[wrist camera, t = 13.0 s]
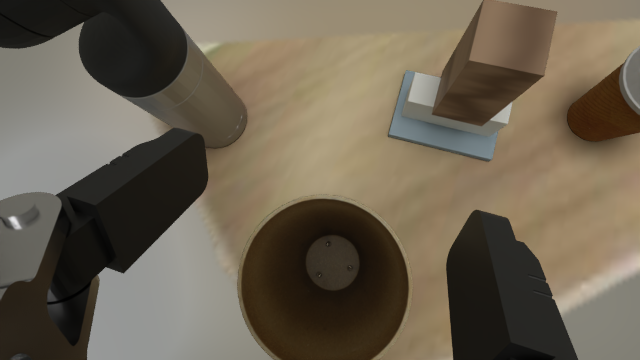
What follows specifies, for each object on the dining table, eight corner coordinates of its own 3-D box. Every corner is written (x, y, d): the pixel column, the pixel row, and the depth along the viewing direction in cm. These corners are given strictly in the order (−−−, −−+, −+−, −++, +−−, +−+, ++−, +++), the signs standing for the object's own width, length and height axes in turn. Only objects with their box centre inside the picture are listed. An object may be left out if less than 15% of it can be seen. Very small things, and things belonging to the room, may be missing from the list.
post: (431, 114, 37) (469, 60, 26) (442, 70, 38) (484, -2, 26) (481, 126, 37) (544, 75, 25) (492, 81, 37) (557, 11, 26)
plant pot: (258, 254, 42) (204, 266, 27) (340, 187, 43) (335, 161, 27) (324, 346, 40) (307, 420, 24) (412, 273, 40) (452, 299, 24)
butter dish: (387, 136, 44) (393, 121, 38) (405, 73, 45) (413, 49, 39) (488, 161, 42) (511, 149, 36) (503, 95, 43) (527, 73, 37)
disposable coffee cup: (545, 137, 41) (622, 100, 30) (566, 77, 43) (649, 17, 31) (619, 164, 40) (731, 135, 28) (639, 100, 41) (755, 47, 29)
